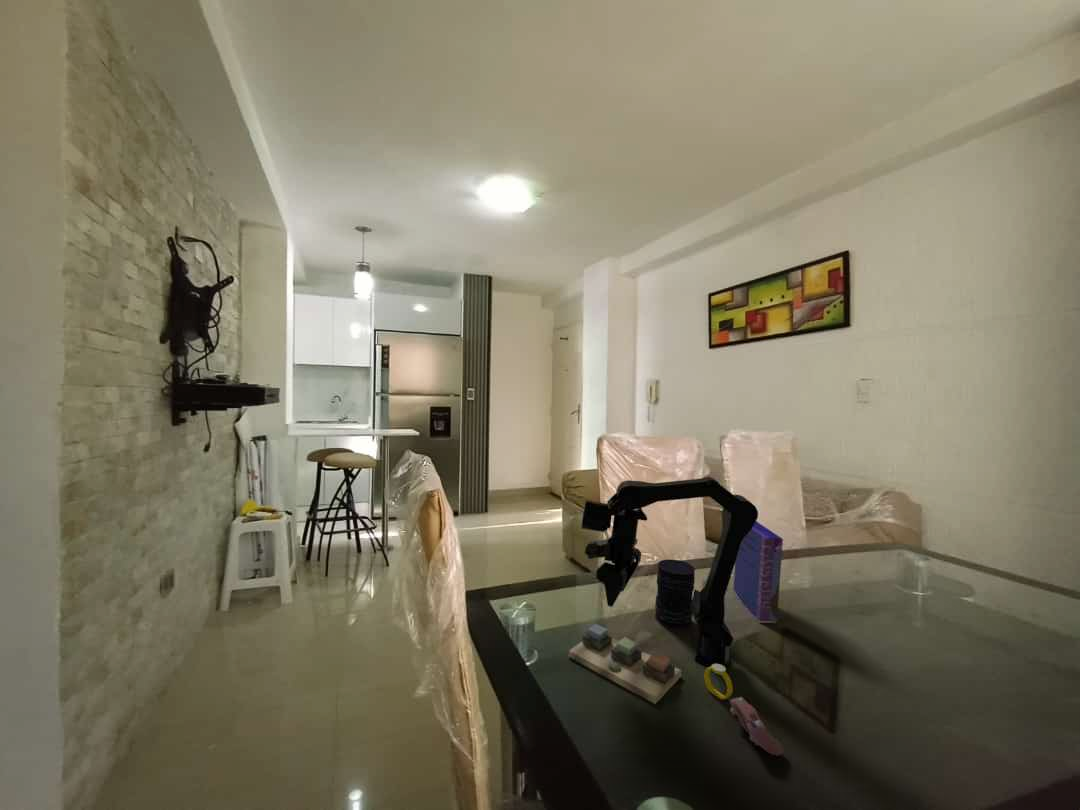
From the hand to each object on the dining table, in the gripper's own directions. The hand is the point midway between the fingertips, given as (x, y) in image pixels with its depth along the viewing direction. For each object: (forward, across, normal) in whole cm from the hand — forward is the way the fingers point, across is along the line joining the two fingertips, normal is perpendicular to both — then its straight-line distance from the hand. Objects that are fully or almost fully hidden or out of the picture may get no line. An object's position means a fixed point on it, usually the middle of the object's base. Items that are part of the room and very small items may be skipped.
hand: (615, 598), depth 108 cm
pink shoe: (+11, +13, +32) cm, 36 cm away
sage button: (+10, +4, +5) cm, 11 cm away
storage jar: (+12, -22, +12) cm, 28 cm away
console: (+12, +5, +5) cm, 14 cm away
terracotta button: (+9, +6, +13) cm, 17 cm away
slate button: (+10, +2, -3) cm, 10 cm away
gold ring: (+11, +4, +25) cm, 28 cm away
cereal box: (+10, -42, +32) cm, 53 cm away
